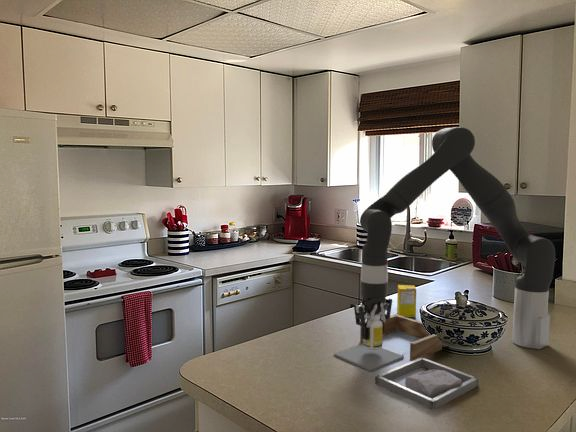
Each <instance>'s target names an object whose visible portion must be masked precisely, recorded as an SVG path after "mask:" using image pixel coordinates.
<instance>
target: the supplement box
mask: <svg viewBox="0 0 576 432" xmlns="http://www.w3.org/2000/svg"><path fill="white" fill-rule="evenodd" d="M396 301H397V305H396V306H397V307H396V309H397V310H396V311H397V313H396V314H397V315H400V316H403V317H406V318H410V319H413V320H416V318H417V317H416V316H417V288H416V286H415V285H414V284H413V285H412V284H398V285H397V300H396Z"/></svg>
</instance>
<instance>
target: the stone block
mask: <svg viewBox="0 0 576 432" xmlns="http://www.w3.org/2000/svg"><path fill="white" fill-rule="evenodd" d="M404 381H405V382H404V385H405V387H406V388H409V389H411V390H413V391H415V392H418V393H420V394H422V395H425V396H427V397H429V398H431V399H433V398H435V397H437V396H439V395H441V394H442V393H444V392H446V391H448V390H450V389H452V388H454V387H456V386H458V385H460V384H462V383H463V382H462V381H461V380H460V379H459V378H457V377H456V376H454V375H452V374H451V373H448V372H446V371H443V370H435V369H433V370H430V369H427V370H424V371H421V372H419V373H417V374H414V375H411V376H410V375H408V376H406V377H405V380H404Z"/></svg>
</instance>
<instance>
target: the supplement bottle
mask: <svg viewBox="0 0 576 432" xmlns="http://www.w3.org/2000/svg"><path fill="white" fill-rule="evenodd" d="M366 315H367V316H370V315H369V314H367V313H366ZM365 322H367V318H366V320H365ZM369 327H370V339H369V340H365V339H363V342H362V344H363V345H364V347H365V348H367V349H372V350H377V349H380V348H383V335H382V328H383V325H382V322H381V321H380V314H375V315H374V317H373V320H371V323H370V326H369Z"/></svg>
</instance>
